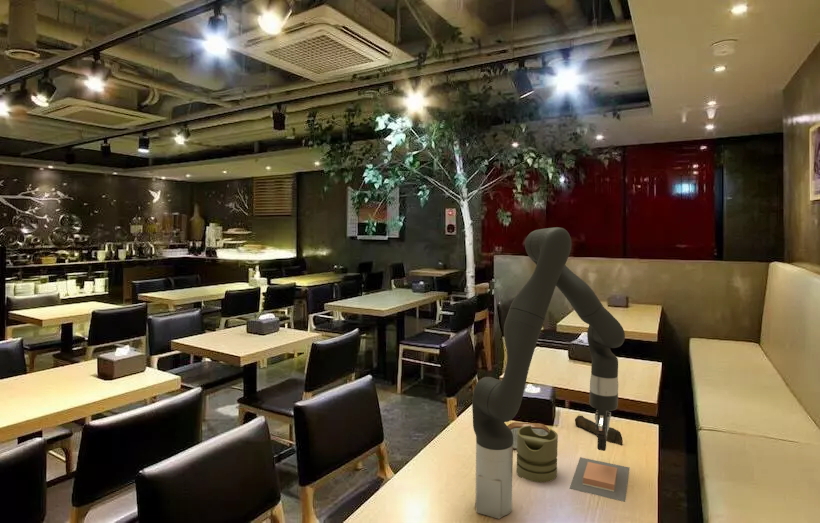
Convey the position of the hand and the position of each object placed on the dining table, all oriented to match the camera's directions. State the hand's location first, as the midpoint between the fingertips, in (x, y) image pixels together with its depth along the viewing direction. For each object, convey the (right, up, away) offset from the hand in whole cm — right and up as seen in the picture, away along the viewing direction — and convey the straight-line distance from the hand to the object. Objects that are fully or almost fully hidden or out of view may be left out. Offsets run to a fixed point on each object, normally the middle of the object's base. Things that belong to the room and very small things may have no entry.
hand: (601, 449), depth 141 cm
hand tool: (+10, -6, +28) cm, 30 cm away
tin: (-17, -7, +17) cm, 25 cm away
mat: (-1, -8, -1) cm, 8 cm away
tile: (+1, -6, +2) cm, 7 cm away
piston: (-18, -8, +2) cm, 20 cm away
